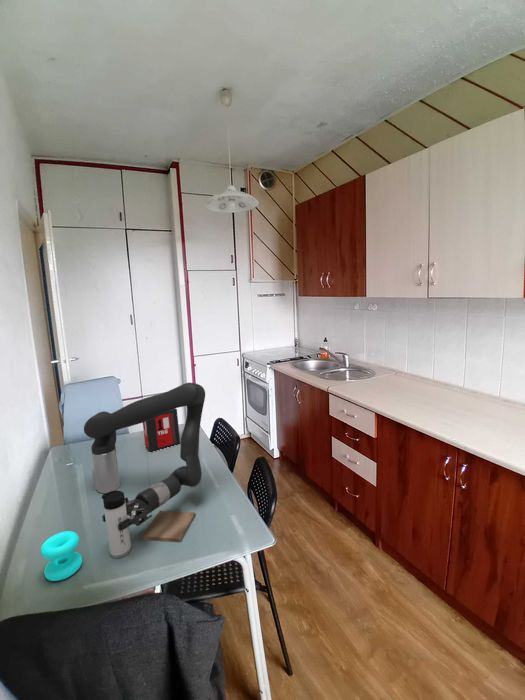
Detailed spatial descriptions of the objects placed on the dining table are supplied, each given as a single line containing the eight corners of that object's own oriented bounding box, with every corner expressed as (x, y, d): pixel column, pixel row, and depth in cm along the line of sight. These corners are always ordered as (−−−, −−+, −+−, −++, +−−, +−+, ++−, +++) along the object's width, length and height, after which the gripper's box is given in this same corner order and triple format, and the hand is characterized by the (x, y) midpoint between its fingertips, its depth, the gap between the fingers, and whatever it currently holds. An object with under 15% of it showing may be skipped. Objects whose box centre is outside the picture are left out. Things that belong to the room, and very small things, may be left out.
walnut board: (141, 539, 117) (140, 536, 117) (160, 513, 131) (159, 510, 130) (180, 542, 115) (180, 539, 114) (195, 515, 128) (195, 512, 128)
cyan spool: (58, 527, 110) (85, 530, 108) (62, 556, 111) (90, 559, 109) (31, 550, 100) (61, 554, 98) (36, 581, 102) (66, 585, 100)
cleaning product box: (175, 439, 199) (171, 405, 195) (180, 444, 191) (176, 409, 188) (145, 447, 190) (141, 412, 187) (149, 452, 183) (145, 416, 179)
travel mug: (113, 545, 115) (105, 489, 112) (133, 543, 115) (126, 487, 112) (106, 559, 109) (98, 501, 105) (127, 557, 109) (120, 498, 106)
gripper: (139, 482, 125) (96, 505, 112) (165, 493, 117) (122, 520, 104) (141, 501, 126) (99, 526, 113) (168, 513, 118) (125, 542, 105)
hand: (110, 523), depth 109 cm, fingers open, 8 cm apart
